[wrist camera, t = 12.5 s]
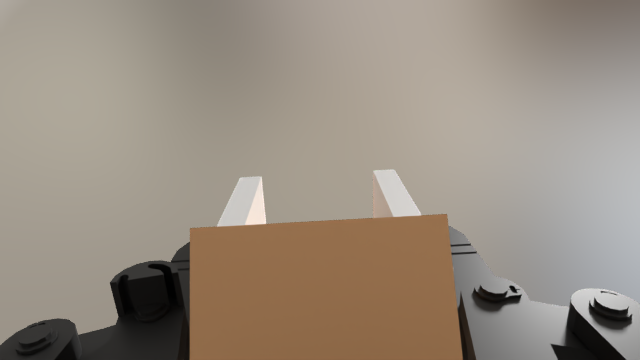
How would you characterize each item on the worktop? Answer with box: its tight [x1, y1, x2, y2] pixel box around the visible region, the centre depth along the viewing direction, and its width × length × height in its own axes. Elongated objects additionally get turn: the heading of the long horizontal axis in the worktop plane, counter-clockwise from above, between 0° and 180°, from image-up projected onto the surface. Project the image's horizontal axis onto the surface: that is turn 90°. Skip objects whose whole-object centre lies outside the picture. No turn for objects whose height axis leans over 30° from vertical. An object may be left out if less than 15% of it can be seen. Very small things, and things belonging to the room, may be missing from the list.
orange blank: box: [190, 214, 463, 360], centre depth 19 cm, size 4×26×3 cm, turn 0°
